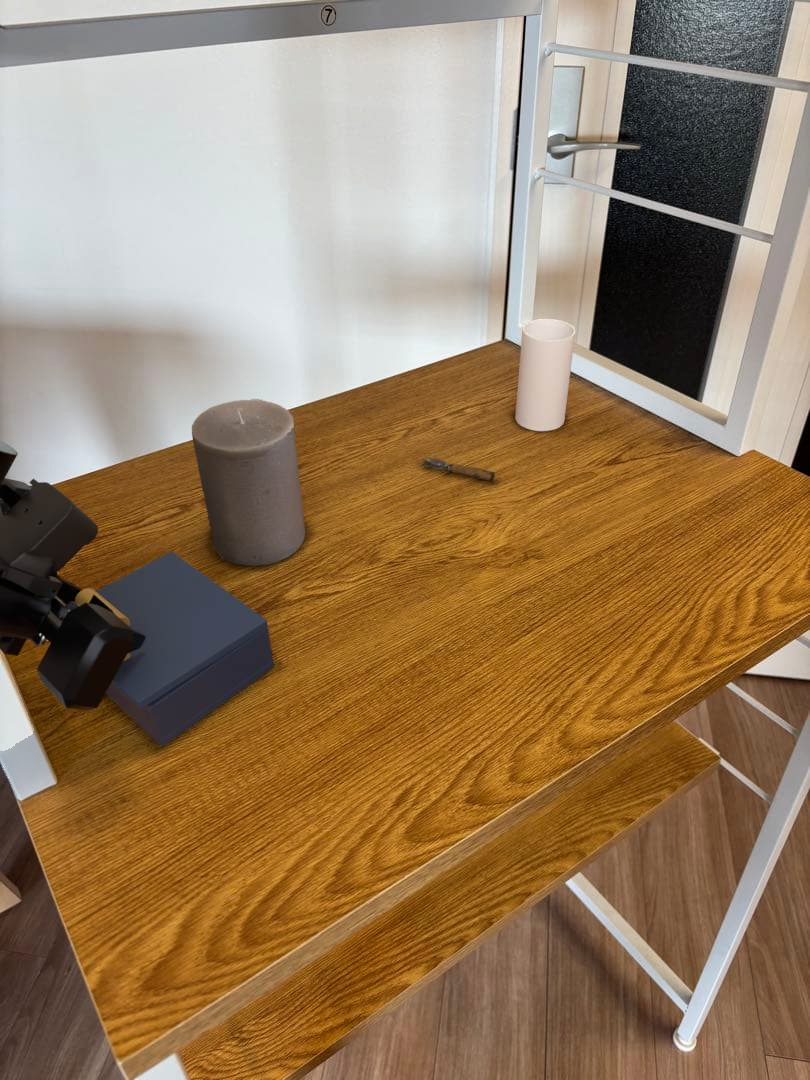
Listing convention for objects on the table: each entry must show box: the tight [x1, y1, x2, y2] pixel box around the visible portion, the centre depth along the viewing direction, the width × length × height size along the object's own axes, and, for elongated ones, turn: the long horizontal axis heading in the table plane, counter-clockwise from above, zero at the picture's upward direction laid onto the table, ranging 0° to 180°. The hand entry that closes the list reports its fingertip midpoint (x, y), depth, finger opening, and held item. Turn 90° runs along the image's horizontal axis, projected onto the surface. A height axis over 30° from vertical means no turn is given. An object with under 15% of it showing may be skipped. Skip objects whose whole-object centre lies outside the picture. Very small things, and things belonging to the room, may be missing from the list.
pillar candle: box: [191, 398, 306, 567], centre depth 82 cm, size 10×10×15 cm
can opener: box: [421, 458, 496, 482], centre depth 95 cm, size 9×2×1 cm, turn 61°
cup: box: [514, 318, 576, 432], centre depth 101 cm, size 6×6×12 cm
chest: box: [105, 627, 275, 748], centre depth 71 cm, size 12×14×5 cm
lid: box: [75, 551, 269, 710], centre depth 68 cm, size 12×14×5 cm
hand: (124, 625), depth 66 cm, fingers closed on lid, 5 cm apart
